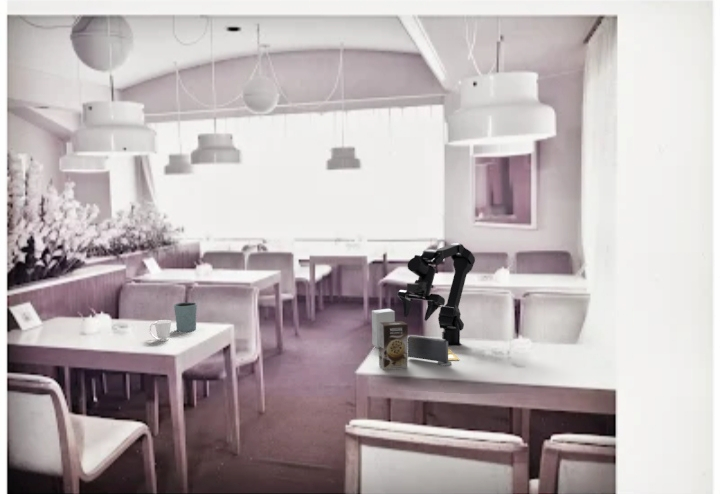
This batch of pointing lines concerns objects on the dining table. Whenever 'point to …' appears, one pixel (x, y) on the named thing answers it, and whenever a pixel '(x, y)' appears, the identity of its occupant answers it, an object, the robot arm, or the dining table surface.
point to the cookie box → (393, 345)
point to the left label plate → (452, 357)
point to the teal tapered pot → (185, 316)
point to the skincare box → (378, 317)
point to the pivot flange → (444, 363)
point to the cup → (162, 329)
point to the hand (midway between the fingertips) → (415, 318)
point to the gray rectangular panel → (428, 348)
